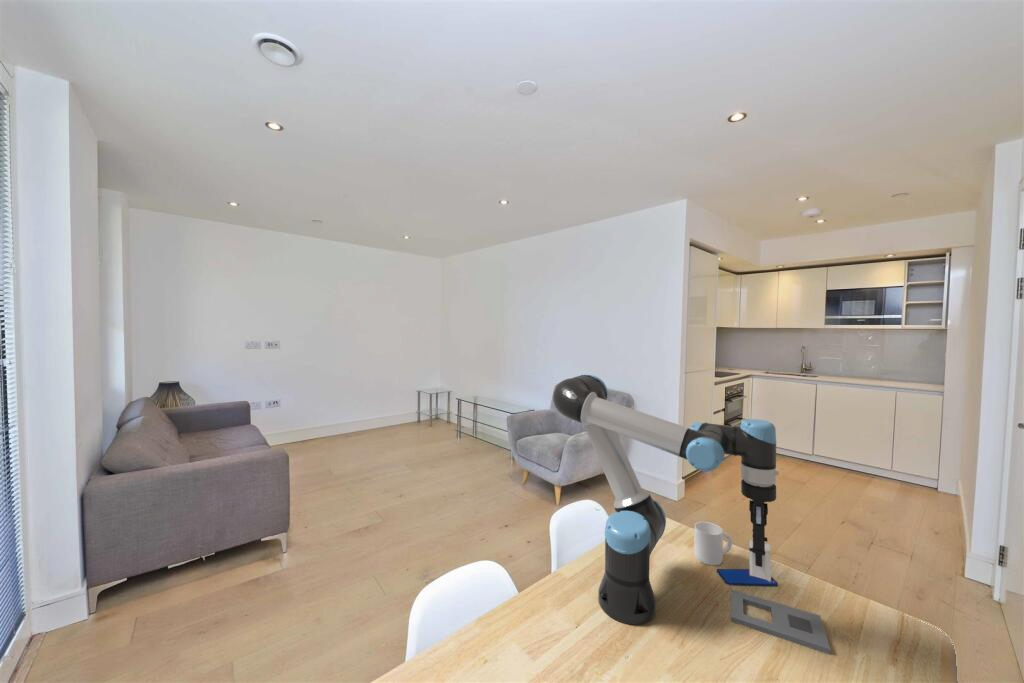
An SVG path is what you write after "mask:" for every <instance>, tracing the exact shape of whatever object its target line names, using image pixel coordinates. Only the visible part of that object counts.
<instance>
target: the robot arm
mask: <svg viewBox="0 0 1024 683" xmlns="http://www.w3.org/2000/svg"><path fill="white" fill-rule="evenodd" d="M608 393H609V391H608V388H607V386H606V383H605V382H604V381H603V380H602V379H601V378H599V377H598V376H596V375H593V374H580V375H578V376H574V377H571V378H566V379H564V380H561V381H560V382H559V383H558V384H557V385H556V386H555V388H554V391H553V395H552V401H553V403H554V406H555V408H556V410H557V411H558V413H559V414H561V415H563V416H565V417H566V418H568V419H570V420H573V421H574V422H577V423H578V424H581V425H582V426H583V427H584V429H585V431H586V433H587V436H588V438H589V441H590V443H591V446H592V448H593V449H594V450H593V451H594V452H595V454H596V456H597V459H598V461H599V463H600V464H599V465H600V466H601V468H602V470H603V472H604V475H605V477H606V480H607V482H608V484H609V486H610V488H611V492H612V493H613V495H614V498H615V499H614V502H613V508H614V510H615V512H612V514H610V515H609V516H608V517H607V519H606V521H605V527H604V567H605V568H604V573H603V577H602V579H601V581H600V585H599V587H598V596H597V599H598V604H599V606H600V608H601V609H602V611H603V612H604V613H605V614H606V615H607V616H609V617H610V618H612V619H613V620H615V621H617V622H620V623H623V624H628V625H642V624H646V623H648V622H650V621H651V620H652V619H654V617H655V616H656V612H657V611H656V609H657V602H656V598H655V593H654V591H653V588H652V584H651V581H650V561H651V560H650V558H651V554H652V552H653V550H654V548H656V545H657V544H658V542H659V540H660V539H661V538H662V537H663V535H664V532H665V530H666V526H667V525H666V524H667V517H666V514H665V510H664V509H663V507H662V506H661V505H660V503H659V502H658V501H656V500H654V499H653V498H652V495H651V494H650V492H649V491H648V490H645V489H643V487H642V486H641V484H640V482H639V479H638V477H637V475H636V473H635V471H634V468H633V467H632V466H633V465H632V463H631V462H630V460H629V458H628V455H627V453H626V451H625V449H624V447H623V445H622V444H623V443H622V442H621V440H620V438H619V436H618V434H619V435H622V436H624V437H626V438H630V439H632V440H635V441H638V442H639V443H641V444H642V443H643V444H646V445H648V446H651V447H653V448H655V449H659V450H661V451H663V452H666V453H669V454H672V455H673V456H677V457H680V458H681V459H685V460H687V462H688V464H690V465H691V466H692V467H693V468H694V469H695V470H697V471H701V472H705V473H706V472H712V471H715V470H716V469H718V467H719V466H720V465H721V464H722V463H723V462H724V460H725V455H728V456H729V455H730V456H735V457H740V460H741V461H740V478H741V481H740V482H741V483H740V484H741V485H740V486H741V487H740V488H741V489H740V492H741V494H742V496H744V497H745V498H747V499H749V506H748V508H749V512H750V523H751V524H752V539H751V540H753V548H749V547H748V548H749V549H748V551H752V576H755V577H758V578H762V579H765V542H768V538H767V537H766V534H765V533H766V532H765V530H766V526H767V525H768V524H767V522H768V521H767V518H768V514H769V508H768V503H771V502H775V501H776V499H777V486H776V483H777V476H779V475H780V472H779V471H778V470H777V434H776V426H775V424H773V423H772V422H770V421H768V420H764V419H758V418H757V419H756V418H754V419H750V418H748V419H743V420H741V421H740V422H741V423H740V425H738V426H733V425H725V424H719V423H718V424H717V423H709V422H693V423H691V426H690V428H689V427H686V426H684V425H680V424H678V423H675V422H671V421H669V420H666V419H663V418H660V417H657V416H654V415H652V414H648V413H645V412H642V411H639V410H636V409H634V408H630V407H628V406H624V405H622V404H620V403H616V402H613V401H610V400H608V395H609V394H608Z"/></svg>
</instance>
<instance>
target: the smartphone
mask: <svg viewBox="0 0 1024 683" xmlns="http://www.w3.org/2000/svg"><path fill="white" fill-rule="evenodd" d="M716 573H717V574H718V575H719V577H721V579H722V581H723V582H724V583H725V584H726V585H728V586H739V587H740V586H744V587H747V586H748V587H779V586H778V585H779V584H778V583H779V582H777V581H776V580H775V578H774V577H772V576H771V581H770V580H766V579H762V578H758V577H755V576H751V575H750V568H749V569H748V568H740V569H739V568H717V569H716Z"/></svg>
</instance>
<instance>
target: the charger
mask: <svg viewBox="0 0 1024 683" xmlns="http://www.w3.org/2000/svg"><path fill="white" fill-rule="evenodd" d="M748 545H749V547H748V548H753V540H752V539H749V544H748ZM748 551H749V550H748ZM748 554H749V556H748V557H749V569H750V575H751V576H752V551H749V553H748ZM771 554H772V553H771V544H770V543H765V579H766V580H770V581H771V577H772V559H771V558H772V556H771Z"/></svg>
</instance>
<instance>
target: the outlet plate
mask: <svg viewBox="0 0 1024 683" xmlns="http://www.w3.org/2000/svg"><path fill="white" fill-rule="evenodd" d="M730 590H731V591H730V592H731V593H730V597H731V598H730V601H731V602H730V620H731V621H730V622H731V623H732V622H733V623H735V624H737V625H740V626H744V627H747V628H750V629H752V630H756V631H758V632H762V633H765V634H768V635H769V636H770V635H771V636H773V637H777V638H779V639H783V640H786V641H789V642H792V643H795V644H797V645H801V646H804V647H807V648H810V649H814V650H816V651H819V652H822V653H824V654H828V655H831V646H830V643H829V641H828V636H827V634H826V630H825V627H824V624H823V621H822V617H821V615H819V614H818V613H817V614H816V613H814V612H810V611H806V610H803V609H800V608H796V607H792V606H789V605H786V604H783V603H779V602H776V601H772V600H769V599H766V598H763V597H759V596H756V595H752V594H750V593H745V592H742V591H738V590H736V589H732V588H731V589H730ZM744 604H746V605H749V606H752V607H756V608H758V609H762V610H766V611H768V612H770V614H771V620H772V622H770V621H766V620H763V619H761V618H757V617H754V616H751V615H747V614H744Z"/></svg>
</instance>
